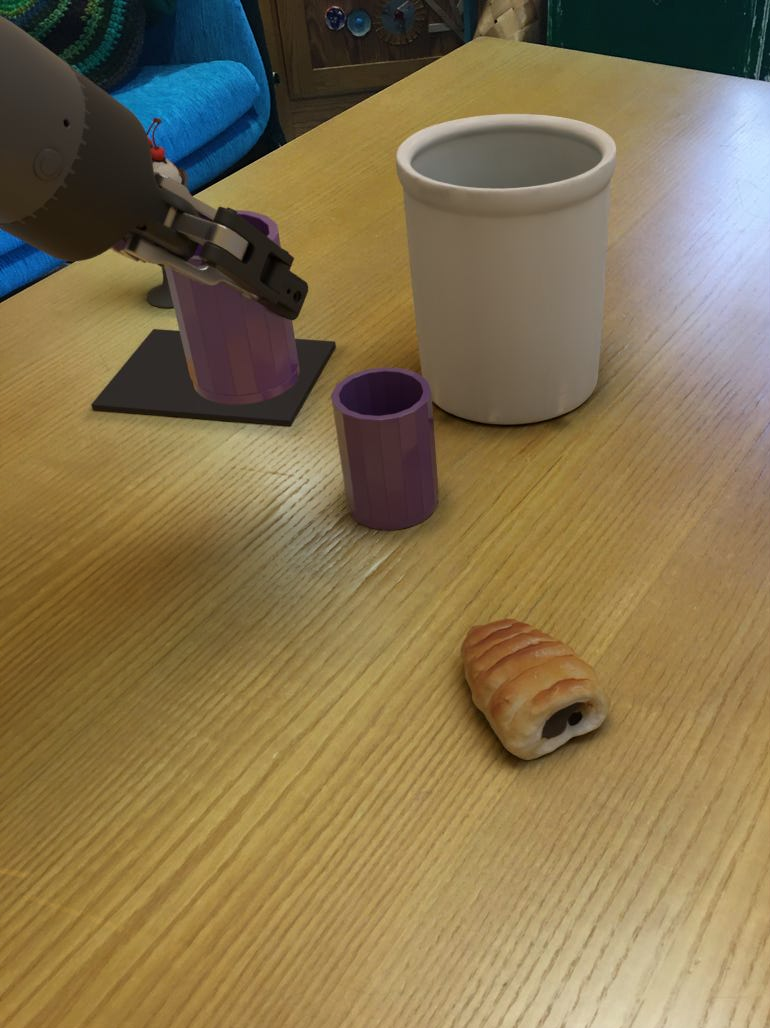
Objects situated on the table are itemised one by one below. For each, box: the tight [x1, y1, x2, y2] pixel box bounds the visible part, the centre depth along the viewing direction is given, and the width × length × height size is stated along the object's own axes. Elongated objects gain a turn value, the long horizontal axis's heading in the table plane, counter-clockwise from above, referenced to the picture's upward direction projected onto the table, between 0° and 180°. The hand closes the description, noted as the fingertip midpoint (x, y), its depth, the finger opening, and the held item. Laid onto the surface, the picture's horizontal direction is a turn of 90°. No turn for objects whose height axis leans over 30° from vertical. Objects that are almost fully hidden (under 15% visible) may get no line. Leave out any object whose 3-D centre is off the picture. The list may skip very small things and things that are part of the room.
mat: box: [90, 328, 337, 427], centre depth 87 cm, size 16×12×1 cm
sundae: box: [146, 117, 189, 309], centre depth 93 cm, size 7×7×15 cm
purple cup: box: [164, 209, 300, 404], centre depth 61 cm, size 6×6×8 cm
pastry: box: [460, 618, 611, 761], centre depth 60 cm, size 9×7×4 cm
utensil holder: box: [395, 113, 617, 425], centre depth 80 cm, size 15×15×18 cm
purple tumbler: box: [330, 366, 439, 531], centre depth 72 cm, size 6×6×8 cm
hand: (251, 286), depth 62 cm, fingers closed on purple cup, 6 cm apart
